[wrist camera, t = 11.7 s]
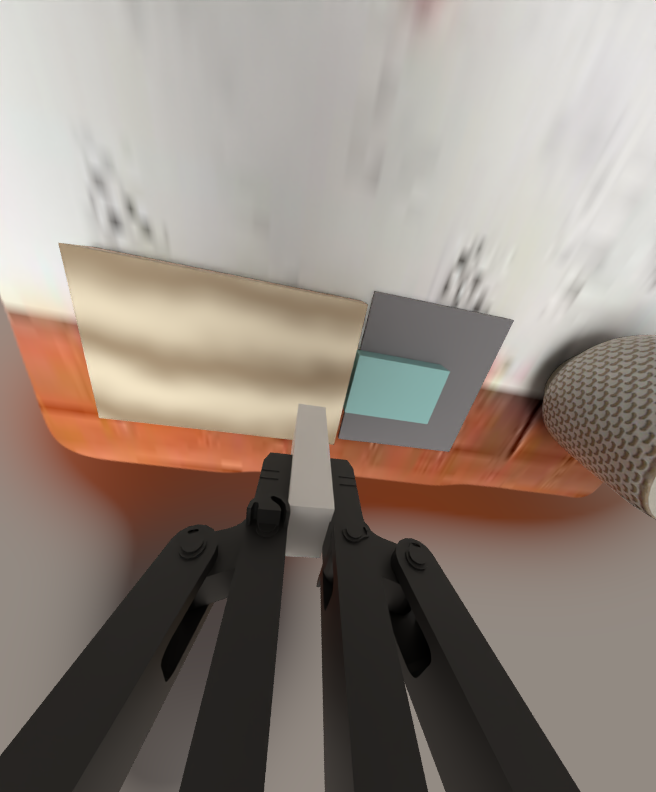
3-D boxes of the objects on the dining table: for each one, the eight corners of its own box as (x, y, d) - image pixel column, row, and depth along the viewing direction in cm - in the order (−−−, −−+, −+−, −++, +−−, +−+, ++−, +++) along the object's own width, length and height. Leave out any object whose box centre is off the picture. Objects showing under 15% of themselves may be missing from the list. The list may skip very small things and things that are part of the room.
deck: (92, 246, 20) (58, 242, 17) (361, 300, 23) (368, 304, 20) (121, 402, 26) (99, 417, 23) (331, 428, 29) (333, 444, 26)
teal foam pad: (342, 403, 27) (344, 412, 25) (356, 349, 24) (359, 355, 23) (419, 414, 28) (427, 424, 27) (440, 364, 26) (450, 371, 24)
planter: (601, 289, 24) (876, 305, 12) (662, 366, 28) (910, 432, 17) (487, 398, 29) (609, 485, 17) (554, 450, 33) (689, 549, 21)
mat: (374, 291, 23) (375, 291, 22) (510, 319, 25) (513, 320, 24) (338, 436, 29) (338, 438, 29) (447, 449, 31) (449, 451, 31)
